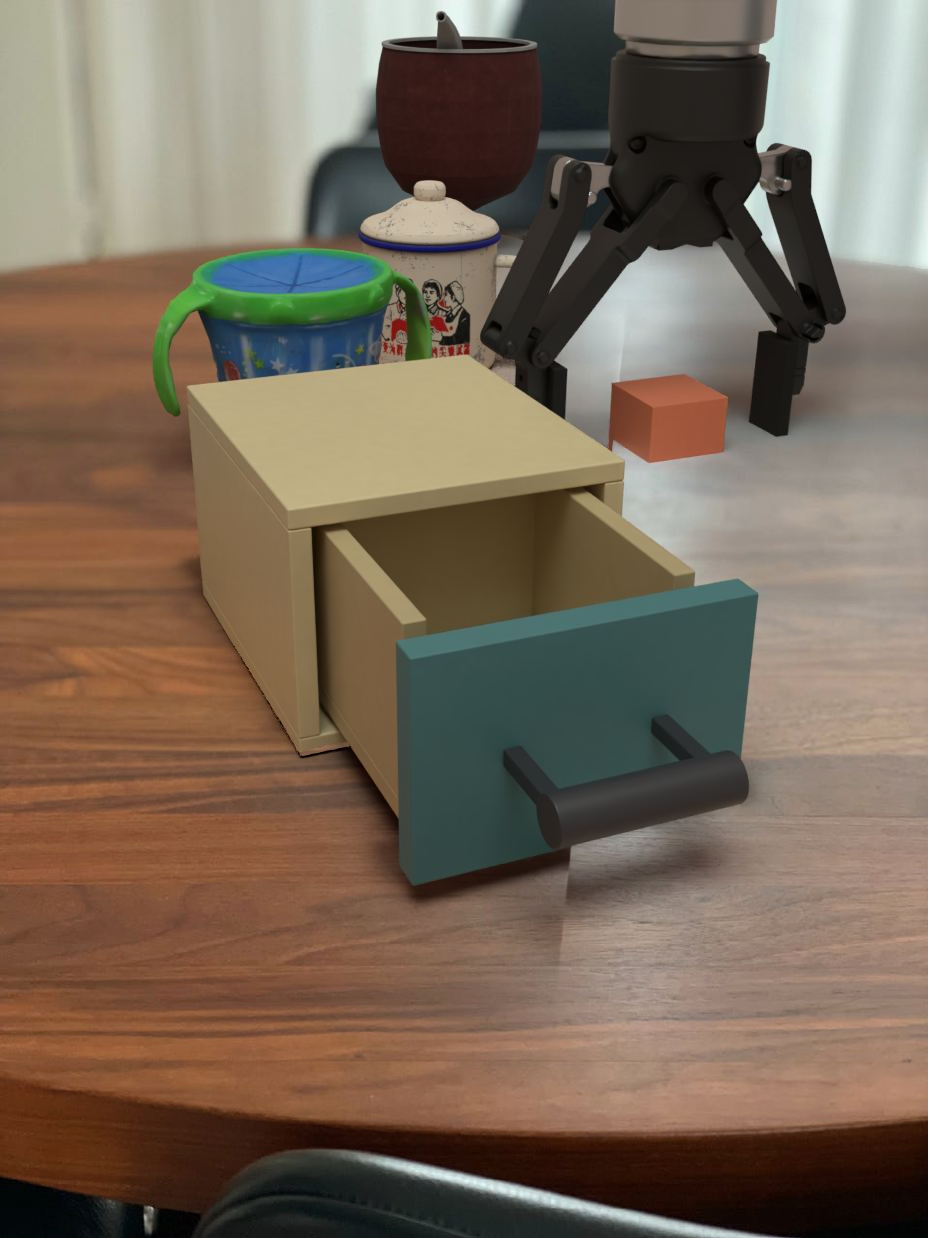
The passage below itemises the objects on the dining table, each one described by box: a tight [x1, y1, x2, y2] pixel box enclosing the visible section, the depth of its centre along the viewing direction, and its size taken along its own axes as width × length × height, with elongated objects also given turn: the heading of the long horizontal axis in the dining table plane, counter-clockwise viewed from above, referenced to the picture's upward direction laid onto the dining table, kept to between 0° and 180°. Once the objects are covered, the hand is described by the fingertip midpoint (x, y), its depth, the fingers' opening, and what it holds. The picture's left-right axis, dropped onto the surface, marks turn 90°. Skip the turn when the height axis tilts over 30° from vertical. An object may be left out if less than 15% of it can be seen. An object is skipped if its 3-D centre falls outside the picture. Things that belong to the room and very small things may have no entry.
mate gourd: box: [375, 10, 543, 256], centre depth 121 cm, size 16×14×20 cm
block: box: [607, 373, 729, 464], centre depth 77 cm, size 4×4×4 cm
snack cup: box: [152, 247, 432, 418], centre depth 78 cm, size 16×10×10 cm
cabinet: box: [186, 355, 626, 752], centre depth 58 cm, size 15×13×10 cm
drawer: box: [310, 487, 759, 887], centre depth 48 cm, size 18×11×8 cm, turn 23°
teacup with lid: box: [358, 180, 516, 369], centre depth 93 cm, size 12×9×12 cm
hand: (657, 468), depth 78 cm, fingers open, 13 cm apart
